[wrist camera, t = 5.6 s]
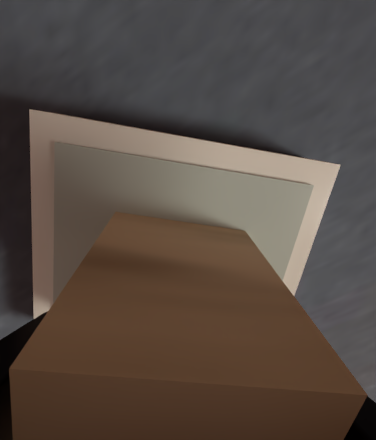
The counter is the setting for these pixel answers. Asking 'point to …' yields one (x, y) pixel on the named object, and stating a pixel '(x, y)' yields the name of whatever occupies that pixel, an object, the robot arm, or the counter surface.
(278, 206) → the tile base
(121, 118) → the counter surface
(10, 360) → the robot arm
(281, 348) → the oak block
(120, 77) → the counter surface
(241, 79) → the counter surface
